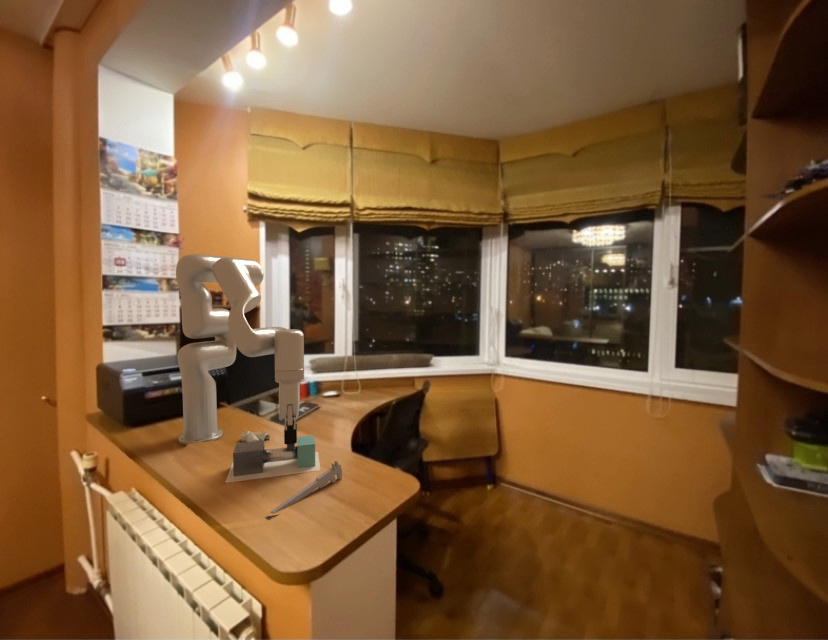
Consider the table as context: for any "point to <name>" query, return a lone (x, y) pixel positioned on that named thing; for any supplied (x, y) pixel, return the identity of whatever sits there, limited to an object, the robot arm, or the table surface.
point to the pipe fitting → (254, 436)
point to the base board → (275, 470)
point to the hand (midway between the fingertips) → (290, 440)
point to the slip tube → (280, 454)
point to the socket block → (306, 451)
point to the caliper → (312, 486)
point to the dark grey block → (248, 458)
